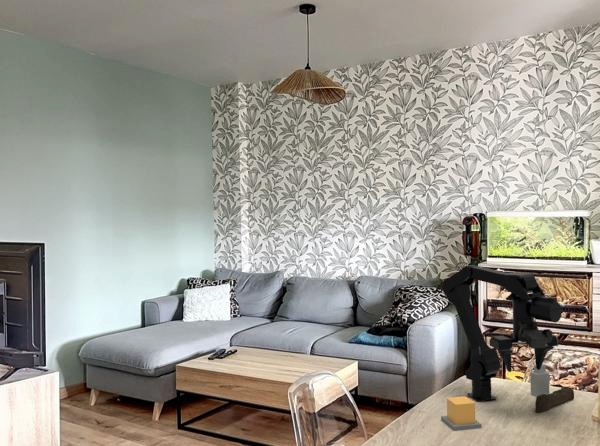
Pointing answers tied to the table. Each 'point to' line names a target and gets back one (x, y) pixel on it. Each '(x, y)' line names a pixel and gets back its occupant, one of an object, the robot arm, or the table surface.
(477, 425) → the grey base with peg
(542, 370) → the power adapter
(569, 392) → the hand tool
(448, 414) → the orange foam cube
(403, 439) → the table surface
